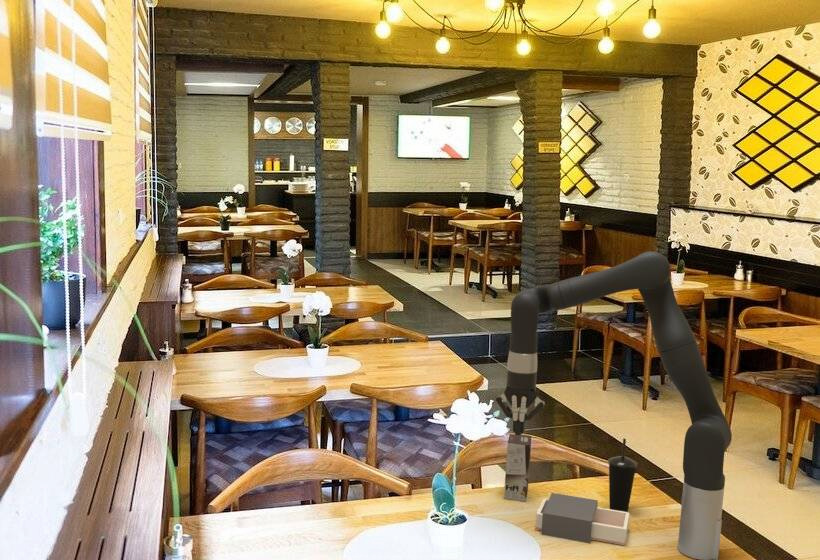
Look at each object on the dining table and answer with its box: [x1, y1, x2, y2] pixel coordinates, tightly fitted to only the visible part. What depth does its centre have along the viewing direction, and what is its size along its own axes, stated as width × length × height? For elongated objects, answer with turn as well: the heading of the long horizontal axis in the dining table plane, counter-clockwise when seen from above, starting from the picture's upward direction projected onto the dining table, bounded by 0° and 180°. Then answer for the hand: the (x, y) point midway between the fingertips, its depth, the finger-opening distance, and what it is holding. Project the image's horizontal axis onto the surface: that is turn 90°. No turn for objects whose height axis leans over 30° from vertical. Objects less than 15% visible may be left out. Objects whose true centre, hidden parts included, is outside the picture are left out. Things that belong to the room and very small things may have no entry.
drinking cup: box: [607, 438, 638, 512], centre depth 220 cm, size 8×8×20 cm
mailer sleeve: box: [540, 492, 599, 544], centre depth 208 cm, size 12×14×6 cm
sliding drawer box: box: [535, 497, 630, 546], centre depth 207 cm, size 22×11×4 cm, turn 71°
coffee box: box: [503, 433, 532, 502], centre depth 228 cm, size 9×6×16 cm
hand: (518, 434), depth 210 cm, fingers closed
